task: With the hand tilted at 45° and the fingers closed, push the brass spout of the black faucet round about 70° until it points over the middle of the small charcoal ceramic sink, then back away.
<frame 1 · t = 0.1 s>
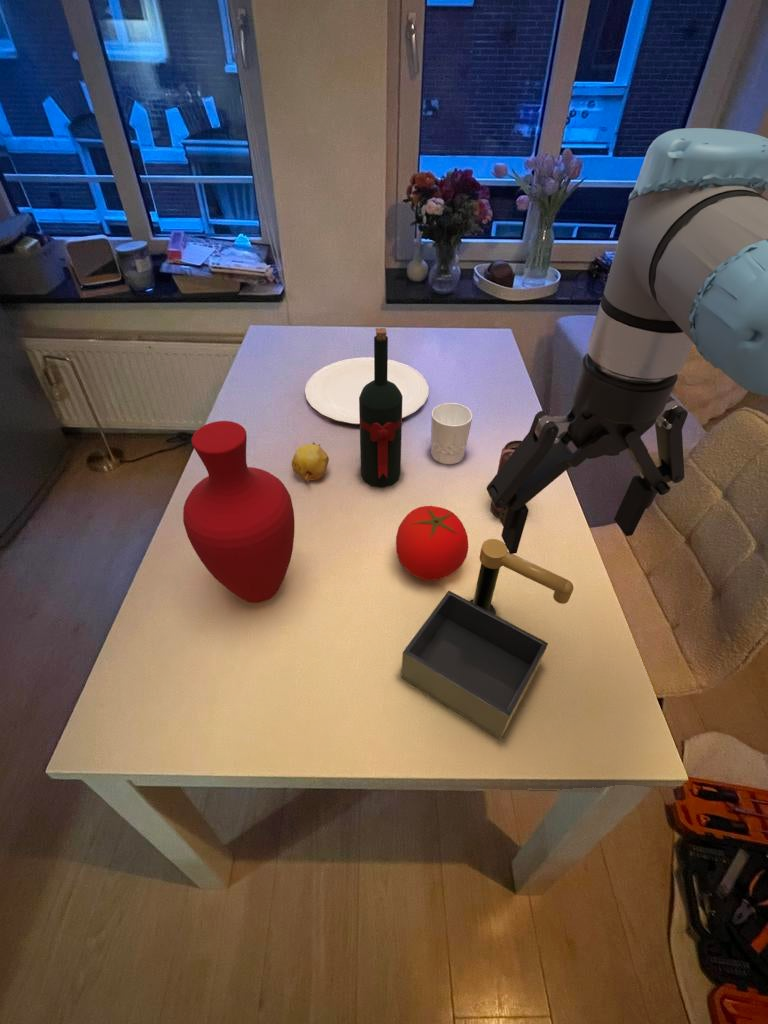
hand: (566, 536, 58), 25 cm above the table, tool pointing down, fingers open, 13 cm apart
faucet base: (479, 615, 81), on the table
sink: (469, 672, 74), on the table
faucet spout: (524, 571, 69), point 14 cm above the table, hinge at 0.0°
vase: (259, 587, 85), on the table
fruit: (311, 475, 104), on the table
tomato: (429, 563, 88), on the table
plate: (367, 394, 125), on the table
wine bottle: (381, 479, 103), on the table
can: (505, 510, 97), on the table
white cup: (447, 455, 109), on the table
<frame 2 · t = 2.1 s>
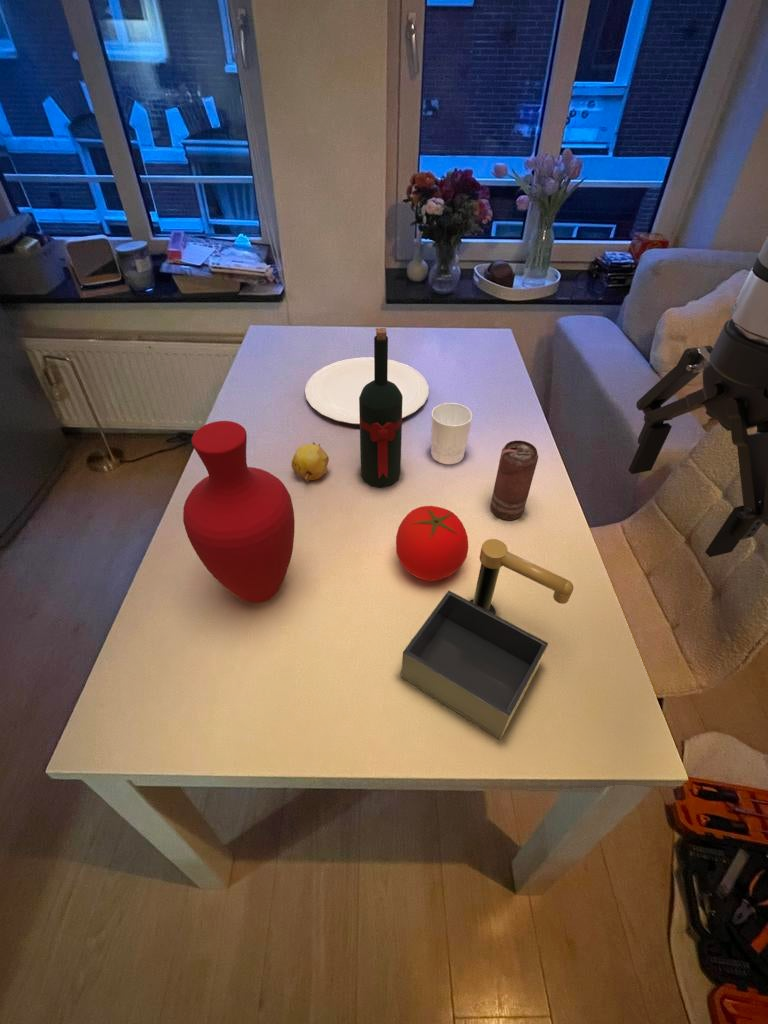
hand: (675, 508, 59), 27 cm above the table, tool pointing down, fingers open, 13 cm apart
nothing on the table moved.
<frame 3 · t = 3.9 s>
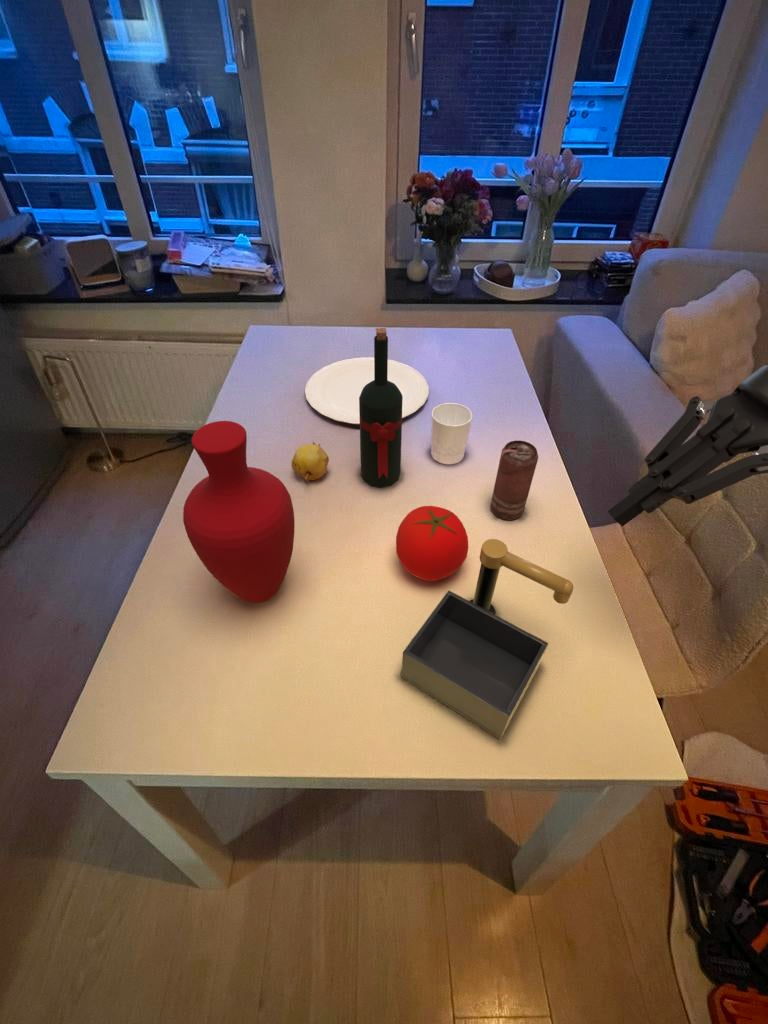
hand: (615, 518, 67), 20 cm above the table, tool tilted 45°, fingers closed
nothing on the table moved.
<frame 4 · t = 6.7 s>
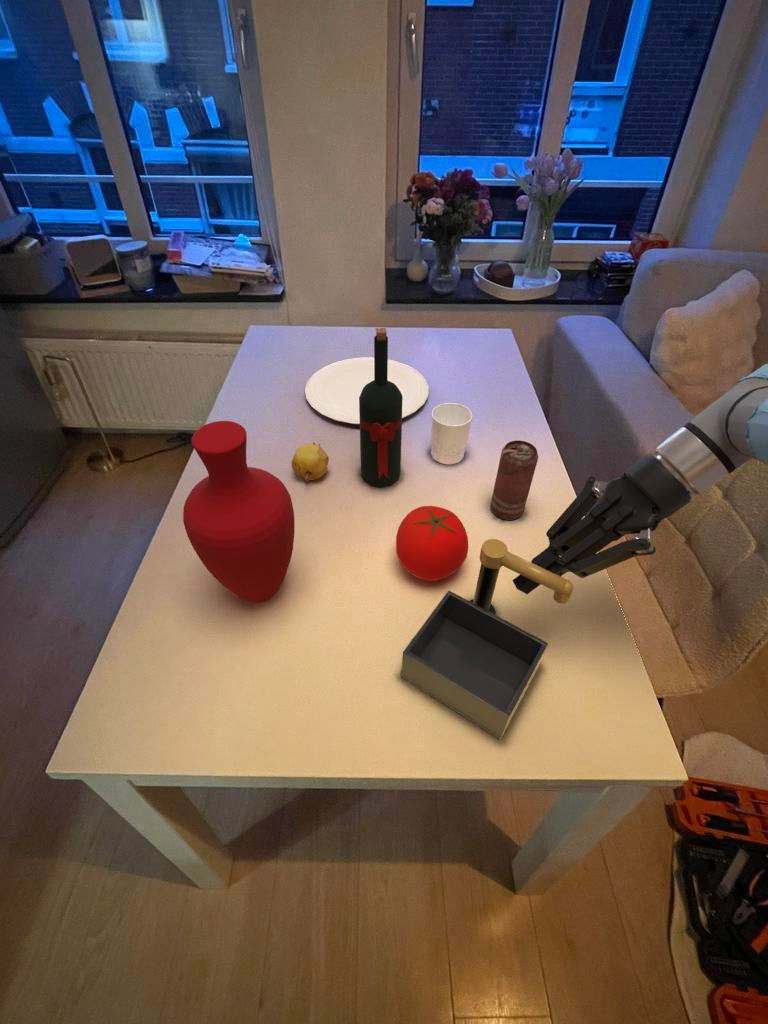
hand: (519, 587, 72), 10 cm above the table, tool tilted 45°, fingers closed
faucet spout: (524, 571, 69), point 14 cm above the table, hinge at 0.0°, touching gripper
everything else where it was.
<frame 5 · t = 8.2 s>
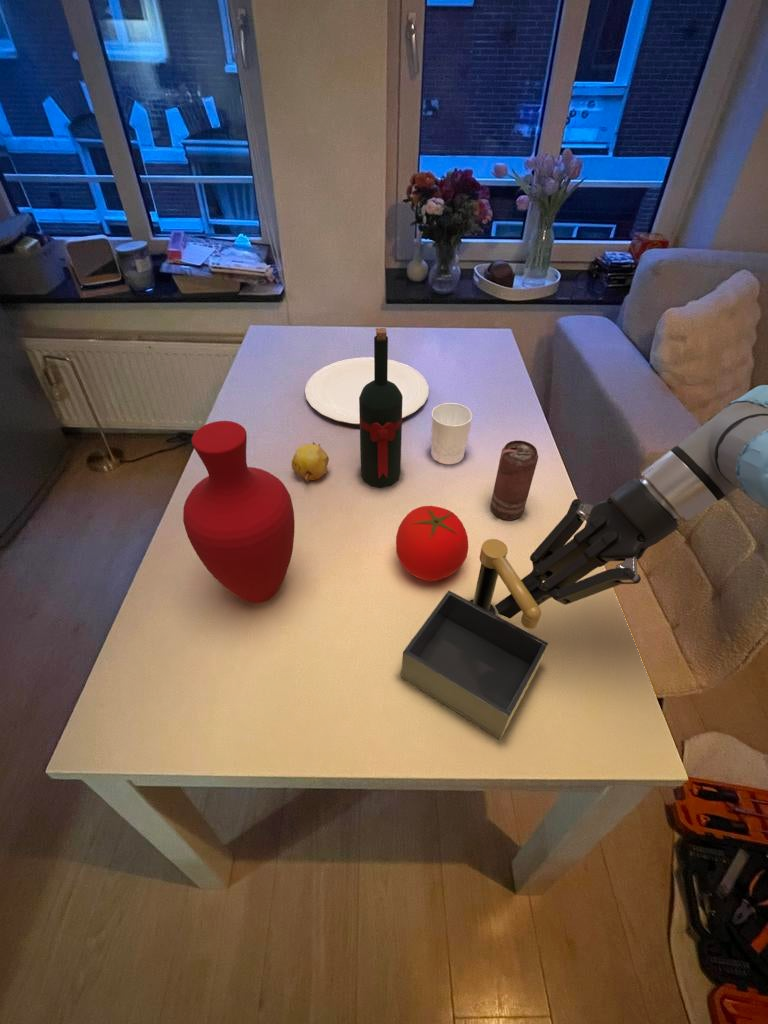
hand: (502, 612, 69), 10 cm above the table, tool tilted 45°, fingers closed
faucet spout: (509, 581, 68), point 14 cm above the table, hinge at -35.9°, touching gripper
everything else where it was.
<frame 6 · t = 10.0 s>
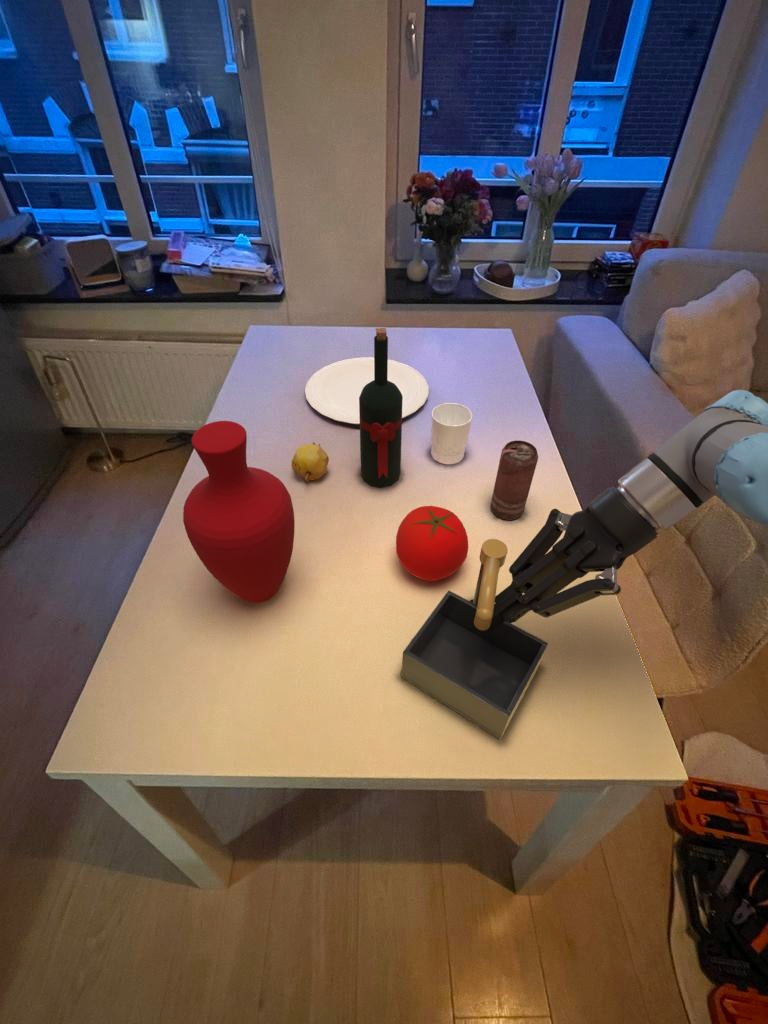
hand: (482, 626, 68), 10 cm above the table, tool tilted 45°, fingers closed
faucet spout: (488, 582, 68), point 14 cm above the table, hinge at -70.1°, touching gripper
everything else where it was.
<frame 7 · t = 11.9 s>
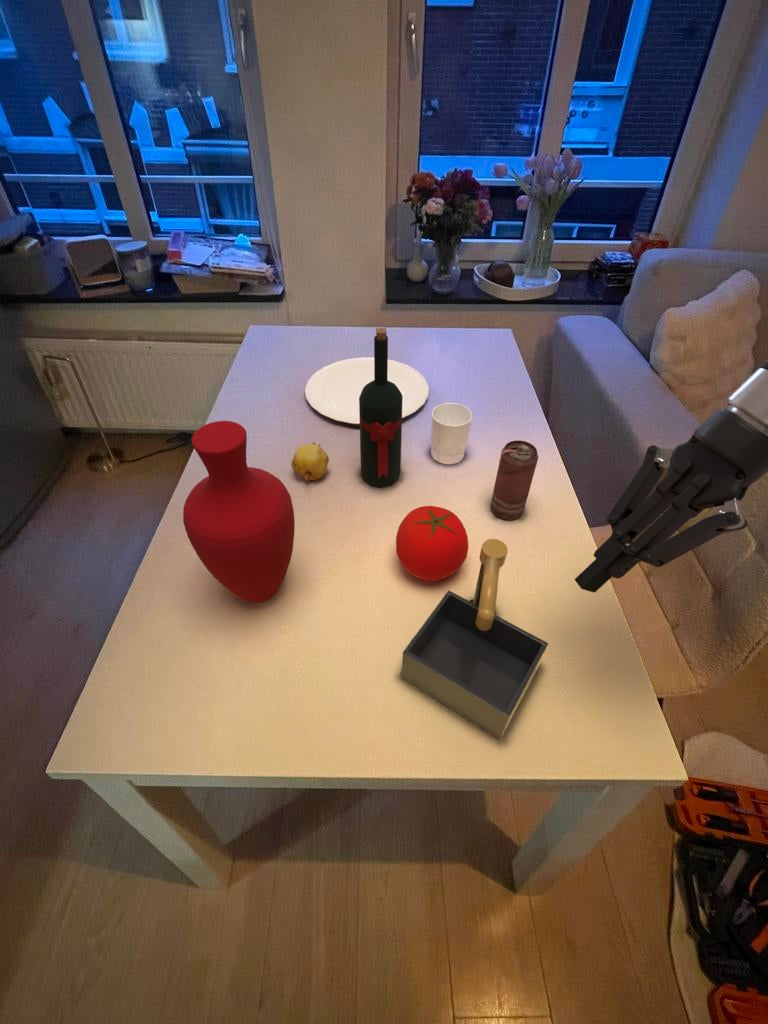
hand: (584, 586, 62), 19 cm above the table, tool tilted 35°, fingers closed
faucet spout: (489, 582, 68), point 14 cm above the table, hinge at -69.0°
everything else where it was.
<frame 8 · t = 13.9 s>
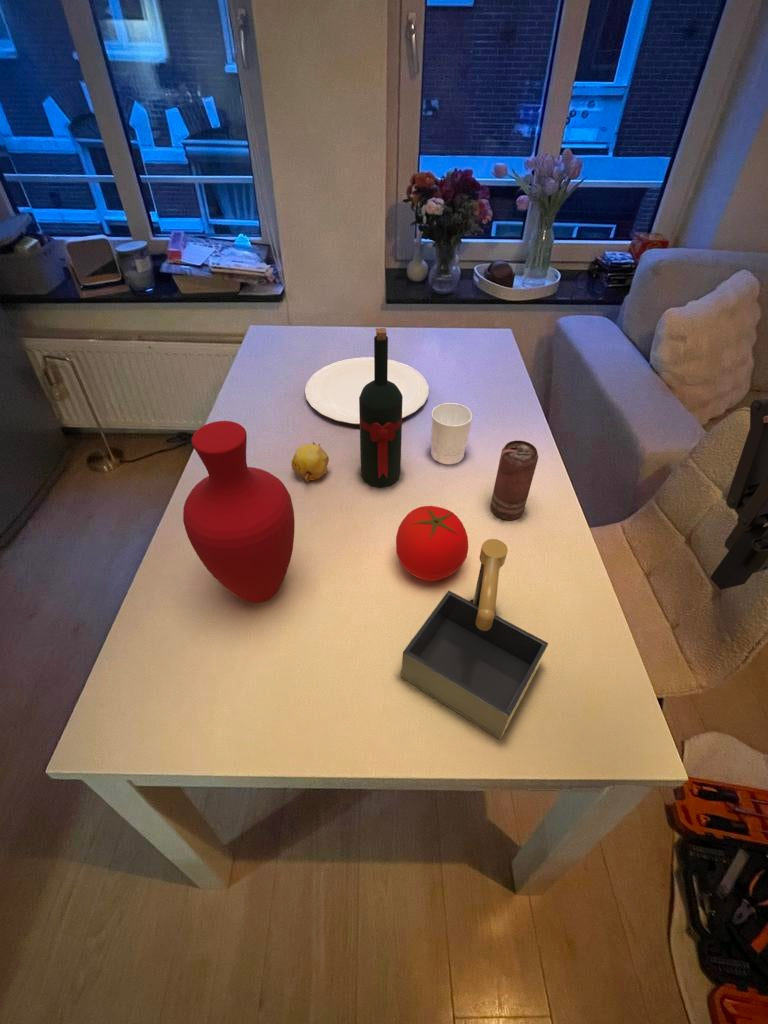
hand: (727, 580, 50), 28 cm above the table, tool pointing down, fingers closed
nothing on the table moved.
at the end: faucet spout at -69° (first picture: +0°); wine bottle tilted 0° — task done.
